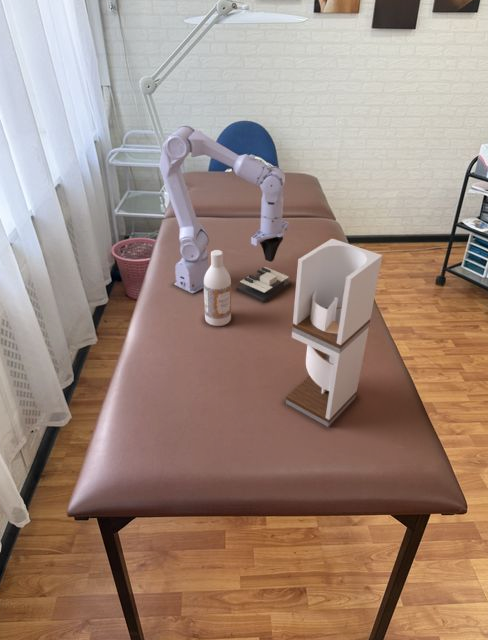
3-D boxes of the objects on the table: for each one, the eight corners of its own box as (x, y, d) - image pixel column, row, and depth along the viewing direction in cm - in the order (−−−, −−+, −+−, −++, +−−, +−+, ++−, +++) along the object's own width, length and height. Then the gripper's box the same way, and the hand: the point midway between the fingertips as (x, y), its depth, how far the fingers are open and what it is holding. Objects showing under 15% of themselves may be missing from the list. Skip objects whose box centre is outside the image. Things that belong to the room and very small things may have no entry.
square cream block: (276, 282, 147) (277, 275, 146) (269, 286, 145) (269, 280, 144) (267, 277, 149) (267, 271, 148) (259, 282, 147) (259, 276, 146)
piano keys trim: (289, 277, 149) (289, 274, 149) (264, 292, 142) (264, 290, 141) (265, 267, 154) (265, 265, 153) (239, 281, 146) (239, 279, 146)
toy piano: (290, 285, 151) (291, 276, 149) (263, 303, 143) (263, 294, 141) (264, 274, 156) (264, 265, 155) (236, 290, 148) (236, 281, 146)
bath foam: (213, 329, 132) (211, 261, 120) (200, 317, 136) (197, 250, 125) (235, 321, 135) (236, 254, 123) (222, 309, 139) (221, 243, 128)
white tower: (314, 377, 117) (332, 238, 97) (355, 397, 111) (382, 255, 92) (286, 403, 110) (298, 259, 90) (328, 427, 104) (350, 278, 84)
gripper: (266, 227, 129) (264, 274, 136) (299, 210, 138) (295, 255, 146) (245, 219, 132) (244, 265, 140) (278, 204, 142) (276, 248, 149)
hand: (269, 260), depth 143 cm, fingers closed
